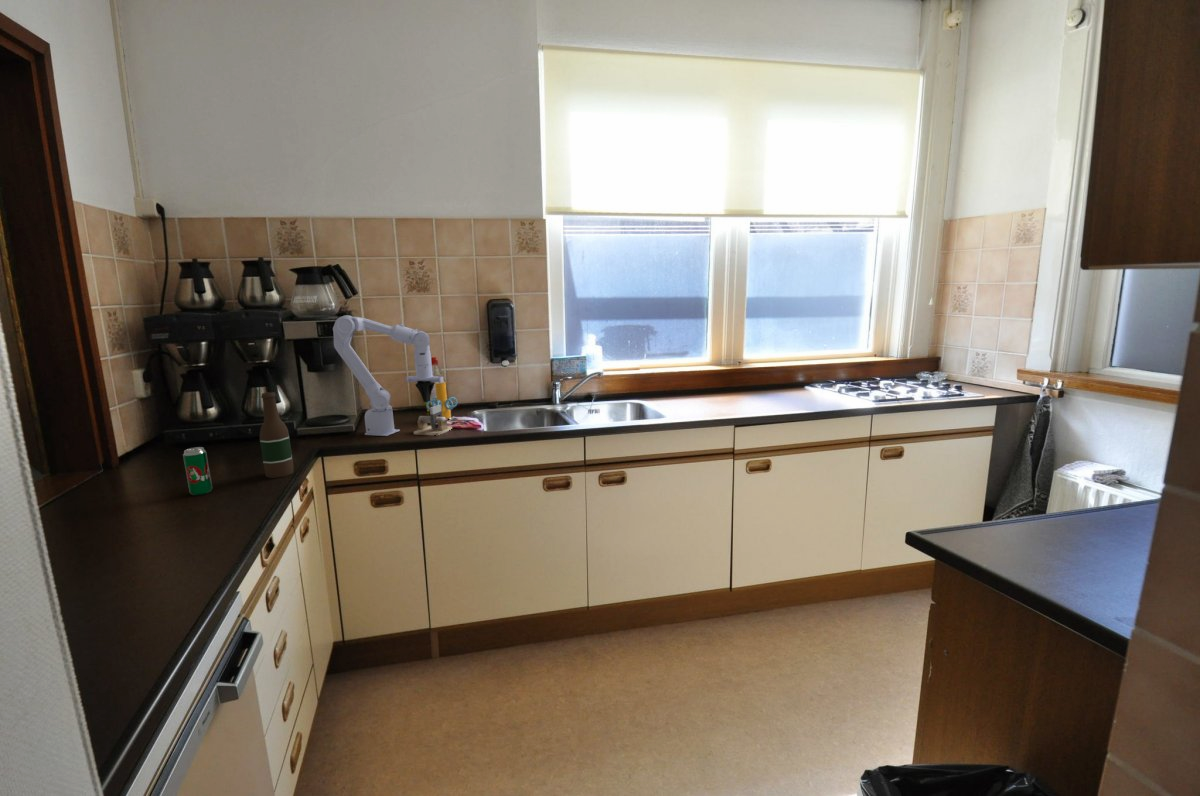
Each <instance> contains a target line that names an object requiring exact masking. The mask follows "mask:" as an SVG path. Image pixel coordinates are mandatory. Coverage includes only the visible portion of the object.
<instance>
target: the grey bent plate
mask: <svg viewBox="0 0 1200 796" xmlns="http://www.w3.org/2000/svg"><path fill="white" fill-rule="evenodd" d="M435 405H436V404H435ZM429 408H430V410H429V413H430V415H429V416H430V417H431V423H430V426H431V428H432V429H436V428H438V423H437V424H436V422H435V416H438V417H442V411H441V405H436V406H433V405H432V406H431V407H429Z"/></svg>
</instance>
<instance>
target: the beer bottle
mask: <svg viewBox="0 0 1200 796" xmlns="http://www.w3.org/2000/svg"><path fill="white" fill-rule="evenodd" d="M260 398H261V399H262V407H263V408H262V409H263V422H262V425H261V427H260V429H259V444H260V450H261V451H260V452H261V456H262V464H263V470H264V474H265V475H264V476H265V477H266V478H267V477H268V478H269V479H278V478H279V479H280V478H285V477H287V476H290V475H293V474H294V461H293V454H292V453H293V452H292V448H291V447H292V446H291V442H290V441H291V439H290V434H289V429H288V427H287V425H286V423H284V421H282V419H281V417H280V415H279V411H278V405H277V401H276V392H274V391H268V392H263V393H261V397H260Z"/></svg>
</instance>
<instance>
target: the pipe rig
mask: <svg viewBox="0 0 1200 796" xmlns="http://www.w3.org/2000/svg"><path fill="white" fill-rule="evenodd" d="M435 422H436V424H438V428H436V429H432V428H431V425H428V424H431V417H430V415H429V416H428V415H419V416H418V420H417V429H416V430H414V431H413V435H418V436H419V435H420V436H422V435H423V436H434V435H436V436H435V437H439V436H441V435H443V434H446V433H447V432H450V431H452V430H453V427H452V426H448V421H447V419H446V418H445V417H438V416H435ZM451 429H452V430H451ZM449 430H450V431H449ZM440 434H441V435H440ZM438 435H439V436H438Z"/></svg>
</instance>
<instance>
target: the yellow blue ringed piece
mask: <svg viewBox="0 0 1200 796" xmlns="http://www.w3.org/2000/svg"><path fill="white" fill-rule="evenodd" d="M446 383H447V382H446V381H444V382H442V383H438V382H435V384H434V386H435V387H434V389H435V397H433V398H432V399H430V401H429V402H426V409H427V410H429V411H430V408H431V407H430V405H429V404H431V405H432V407H433V406H436V405H441V411H442V417H445V418H450V417H451V418H452V410H453V409H454V408H456V407H457V405H458V400H457V398H456V397H455V396H451V397H449V398H448V394H447V384H446ZM452 400H454V401H455V402H454V403H453V401H452Z"/></svg>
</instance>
